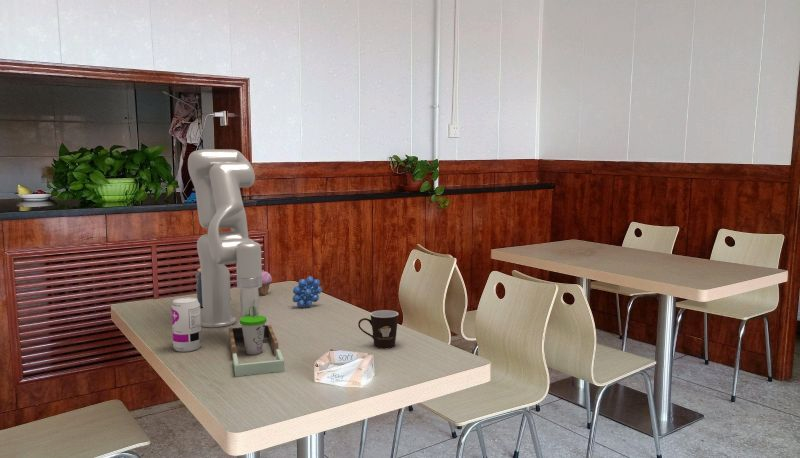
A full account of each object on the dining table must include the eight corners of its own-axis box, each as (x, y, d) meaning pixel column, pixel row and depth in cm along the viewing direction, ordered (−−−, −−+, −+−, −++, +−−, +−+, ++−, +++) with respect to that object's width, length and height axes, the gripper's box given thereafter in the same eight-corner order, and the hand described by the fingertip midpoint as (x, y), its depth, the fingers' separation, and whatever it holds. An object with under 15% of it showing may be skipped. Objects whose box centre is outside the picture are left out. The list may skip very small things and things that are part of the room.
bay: (233, 363, 176) (232, 353, 176) (279, 359, 180) (279, 349, 180) (235, 376, 166) (234, 365, 166) (284, 371, 170) (284, 360, 170)
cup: (254, 358, 181) (252, 307, 179) (234, 353, 185) (233, 304, 183) (273, 351, 188) (271, 302, 186) (254, 346, 192) (252, 299, 190)
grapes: (318, 303, 246) (318, 273, 245) (324, 307, 240) (323, 276, 239) (289, 306, 241) (289, 275, 240) (294, 310, 235) (293, 279, 234)
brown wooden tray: (229, 340, 198) (228, 328, 198) (271, 336, 202) (270, 324, 201) (232, 360, 179) (232, 347, 179) (278, 356, 183) (278, 342, 183)
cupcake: (247, 296, 258) (246, 272, 257) (255, 291, 267) (254, 268, 266) (267, 297, 257) (267, 273, 256) (275, 292, 265) (274, 269, 264)
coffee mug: (402, 342, 195) (402, 311, 194) (393, 351, 187) (392, 318, 186) (367, 339, 199) (367, 308, 198) (357, 347, 191) (356, 315, 190)
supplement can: (175, 354, 185) (173, 304, 183) (171, 346, 192) (169, 298, 190) (203, 350, 189) (201, 301, 187) (199, 342, 196) (196, 295, 194)
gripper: (235, 278, 199) (237, 334, 201) (238, 287, 185) (240, 348, 187) (259, 276, 201) (261, 332, 203) (264, 286, 187) (266, 345, 189)
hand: (251, 339), depth 195 cm, fingers closed
